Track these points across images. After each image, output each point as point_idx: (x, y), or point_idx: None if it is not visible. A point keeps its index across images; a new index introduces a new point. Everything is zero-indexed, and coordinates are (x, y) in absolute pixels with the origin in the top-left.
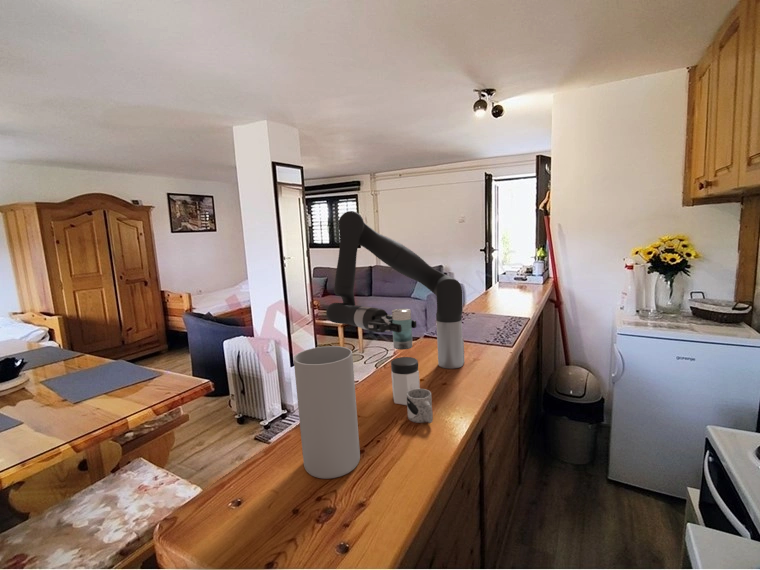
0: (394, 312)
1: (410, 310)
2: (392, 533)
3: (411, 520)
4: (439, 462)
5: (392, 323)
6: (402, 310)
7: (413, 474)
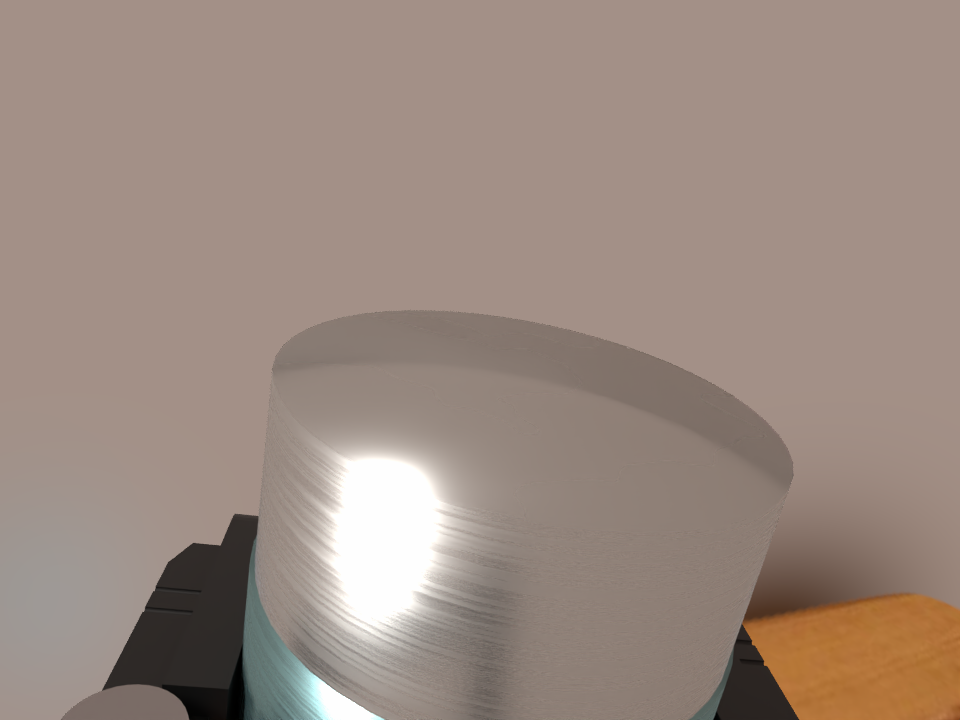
0: (763, 428)
1: (393, 313)
2: (904, 620)
3: (847, 612)
4: None
5: (736, 696)
6: (505, 379)
7: None
